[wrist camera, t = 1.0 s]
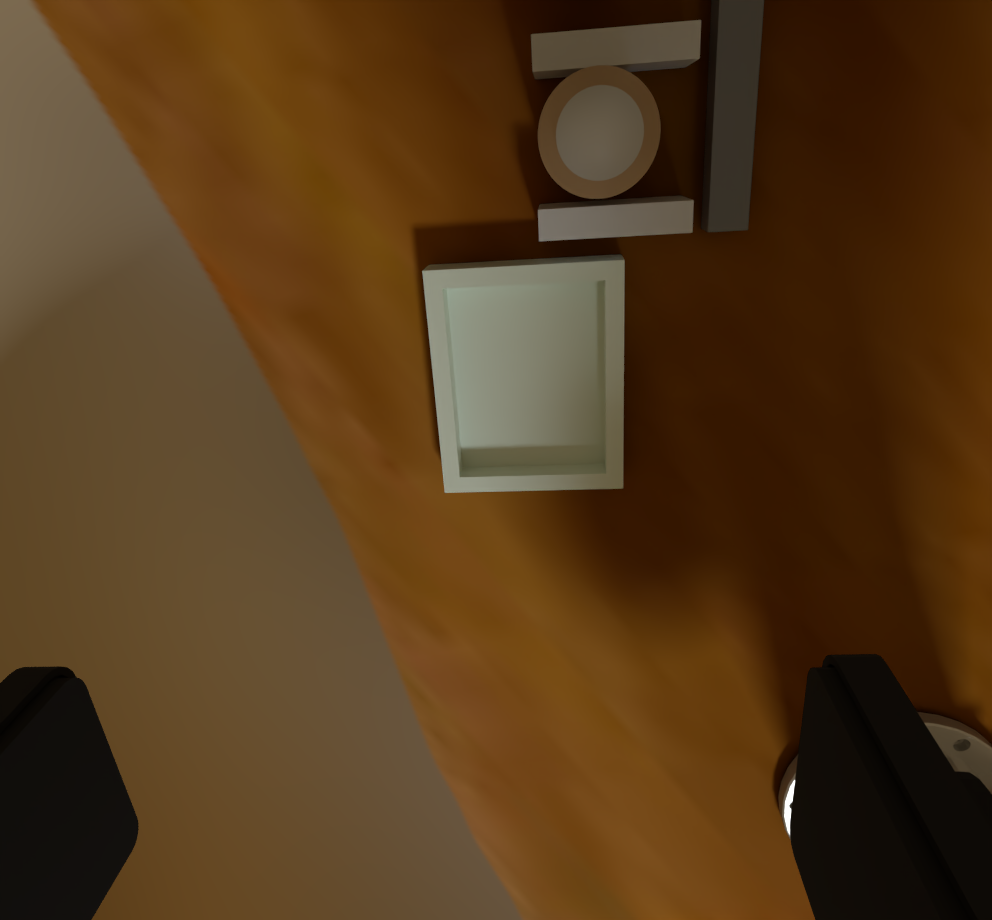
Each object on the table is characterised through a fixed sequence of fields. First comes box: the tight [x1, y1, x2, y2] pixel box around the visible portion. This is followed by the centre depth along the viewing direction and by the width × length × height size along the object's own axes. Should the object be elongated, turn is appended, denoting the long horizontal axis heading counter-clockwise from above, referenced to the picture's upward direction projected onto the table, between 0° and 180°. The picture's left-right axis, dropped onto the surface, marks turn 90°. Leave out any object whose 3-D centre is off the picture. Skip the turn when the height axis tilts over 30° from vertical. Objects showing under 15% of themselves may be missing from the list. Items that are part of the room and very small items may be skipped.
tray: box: [422, 254, 625, 493], centre depth 33 cm, size 9×11×2 cm
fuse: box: [538, 65, 661, 199], centre depth 27 cm, size 4×4×8 cm
